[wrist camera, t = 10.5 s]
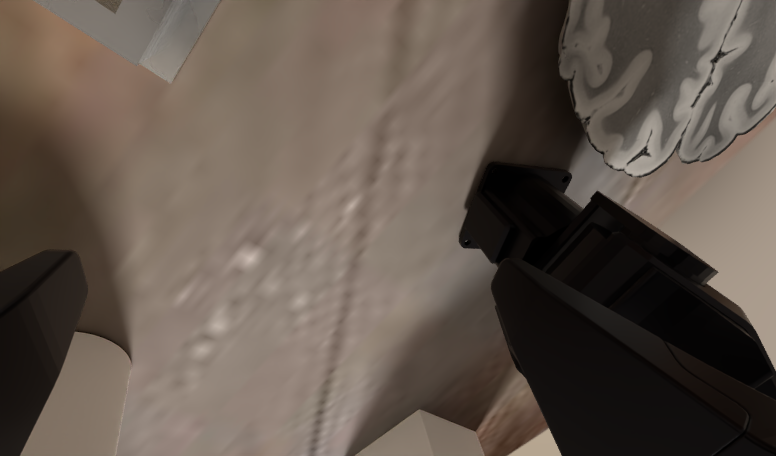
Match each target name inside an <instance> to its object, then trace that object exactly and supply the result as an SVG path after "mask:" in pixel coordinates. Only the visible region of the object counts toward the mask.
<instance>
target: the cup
mask: <svg viewBox="0 0 776 456" xmlns="http://www.w3.org/2000/svg"><path fill="white" fill-rule="evenodd" d="M130 372H131V361H130V358H129V356H128V355H127V354H126V352H125V351H124V350H123V349H122V348H120V347H119V346H118V345H116V344H115V343H113V342H111V341H109V340H107V339H104V338H102V337H99V336H96V335H92V334H87V333H81V332H75V333H74V336H73V339H72V341H71V344H70V347H69V350H68V353H67V356H66V359H65V362H64V364H63V367H62V370H61V372H60V375H59V377H58V379H57V381H56V383H55V386H54V388H53V390H52V392H51V394H50V396H49V398H48V400H47V402H46V404H45V406H44V408H43V410H42V412H41V414H40V416H39V418H38V420H37V422H36V424H35V426H34V428H33V430H32V432H31V434H30V436H29V439H28V441H27V443H26V445H25V447H24V449H23V451H22V453H21V455H20V456H116V450H117V445H118V439H119V434H120V428H121V422H122V417H123V411H124V406H125V400H126V395H127V389H128V384H129V378H130Z"/></svg>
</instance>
